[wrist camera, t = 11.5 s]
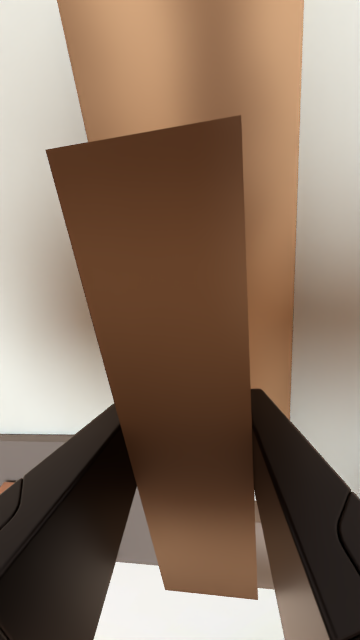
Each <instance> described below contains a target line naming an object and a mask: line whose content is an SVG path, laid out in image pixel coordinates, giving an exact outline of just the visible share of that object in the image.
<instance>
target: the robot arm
mask: <svg viewBox="0 0 360 640" xmlns="http://www.w3.org/2000/svg"><path fill="white" fill-rule="evenodd" d="M251 414H252V444H253V473H254V491H255V496H256V501H257V506H258V511H259V515H260V520H261V525H262V530H263V535H264V540H265V545H266V550H267V555H268V559H269V564H270V569H271V574H272V579H273V584H274V589H275V594H276V599H277V604H278V608H279V613H280V618H281V623H282V628H283V633H284V638H285V640H360V499H359V497H358V496H357V495H356V494H355V493H354V492H351V489H350V488H349V486H348V485H347V484H346V483H345V482H344V481H343V480H342V479H341V477H340V476H339V475H338V474H337V473H336V472H335V471H334V470H333V468H332V467H331V466H330V465H329V464H328V463H327V462H326V461H325V459H324V458H323V457H322V456H321V455H320V454H319V453H318V452H317V450H316V449H315V448H314V447H313V446H312V445H311V444H310V443H309V441H308V440H307V439H306V438H305V437H304V436H303V435H302V434H301V432H300V431H299V430H298V429H297V428H296V427H295V426H294V425H293V423H292V422H291V421H290V420H289V419H288V418H287V417H286V416H285V414H284V413H283V412H282V411H281V410H280V409H279V408H278V407H277V405H276V404H275V403H274V402H273V401H272V400H271V399H270V398H269V396H268V395H267V394H266V393H265V392H264V391H263V390H262V389H260V388H254V389H251ZM136 488H137V484H136V480H135V477H134V473H133V469H132V466H131V462H130V458H129V455H128V451H127V447H126V444H125V440H124V436H123V433H122V429H121V425H120V422H119V418H118V414H117V410H116V407H115V403H114V404H112V405H111V406H110V407H109V408H107V409H106V410H105V411H104V412H102V413H101V414H100V415H99V416H97V417H96V418H95V419H94V420H92V421H91V422H90V423H89V424H87V425H86V426H85V427H84V428H82V429H81V430H80V431H79V432H78V433H76V434H75V435H74V436H73V437H71V438H70V439H69V440H68V441H66V442H65V443H64V444H63V445H61V446H60V447H59V448H58V449H56V450H55V451H54V452H53V453H51V454H50V455H49V456H48V457H46V458H45V459H44V460H43V461H41V462H40V463H39V464H38V465H36V466H35V467H34V468H33V469H31V470H30V471H29V472H28V473H26V474H25V475H24V477H23V478H20V479H19V480H18V481H16V482H15V483H14V484H13V485H11V486H10V487H9V488H8V489H6V490H5V491H4V492H2V493H1V494H0V640H93V639H94V636H95V632H96V629H97V625H98V622H99V618H100V615H101V611H102V608H103V604H104V601H105V597H106V594H107V590H108V587H109V583H110V580H111V576H112V573H113V569H114V566H115V562H116V559H117V555H118V552H119V548H120V544H121V541H122V537H123V534H124V530H125V527H126V523H127V520H128V516H129V513H130V509H131V506H132V502H133V499H134V495H135V492H136Z"/></svg>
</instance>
